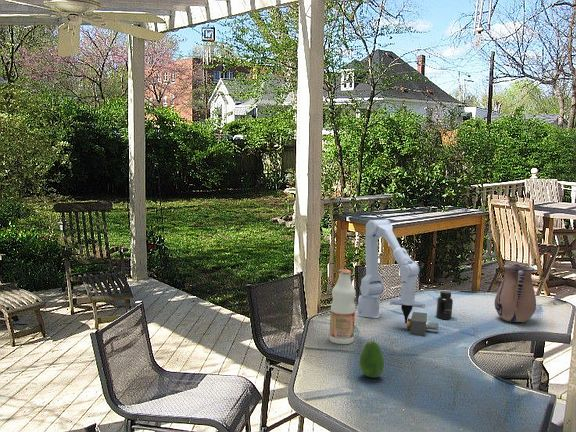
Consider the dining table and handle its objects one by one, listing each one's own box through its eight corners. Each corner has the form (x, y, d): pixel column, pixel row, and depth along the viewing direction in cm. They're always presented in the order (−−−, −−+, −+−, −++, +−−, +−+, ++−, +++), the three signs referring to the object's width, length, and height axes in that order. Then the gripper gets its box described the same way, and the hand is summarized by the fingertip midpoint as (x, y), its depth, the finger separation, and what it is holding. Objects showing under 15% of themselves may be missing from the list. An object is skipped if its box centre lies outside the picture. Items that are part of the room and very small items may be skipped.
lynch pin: (407, 329, 250) (407, 319, 249) (407, 326, 254) (408, 317, 253) (437, 332, 246) (438, 323, 246) (438, 329, 250) (438, 320, 250)
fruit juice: (324, 339, 234) (327, 269, 231) (343, 335, 239) (346, 267, 236) (339, 346, 227) (343, 273, 223) (358, 342, 232) (362, 271, 228)
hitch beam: (409, 334, 245) (410, 320, 244) (412, 324, 258) (413, 311, 257) (424, 336, 243) (425, 322, 242) (426, 326, 256) (427, 313, 256)
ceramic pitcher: (527, 316, 279) (532, 263, 276) (542, 329, 258) (547, 273, 255) (489, 313, 281) (493, 261, 278) (500, 327, 260) (505, 270, 257)
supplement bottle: (448, 320, 266) (449, 294, 265) (433, 317, 270) (435, 291, 269) (453, 317, 272) (455, 292, 270) (439, 314, 276) (441, 289, 274)
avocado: (367, 370, 203) (369, 336, 201) (387, 377, 198) (389, 342, 196) (354, 377, 197) (356, 341, 195) (374, 383, 192) (376, 347, 190)
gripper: (389, 291, 248) (387, 323, 250) (425, 295, 244) (423, 327, 246) (391, 287, 255) (389, 318, 256) (426, 291, 251) (423, 322, 253)
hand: (406, 322), depth 252 cm, fingers closed
